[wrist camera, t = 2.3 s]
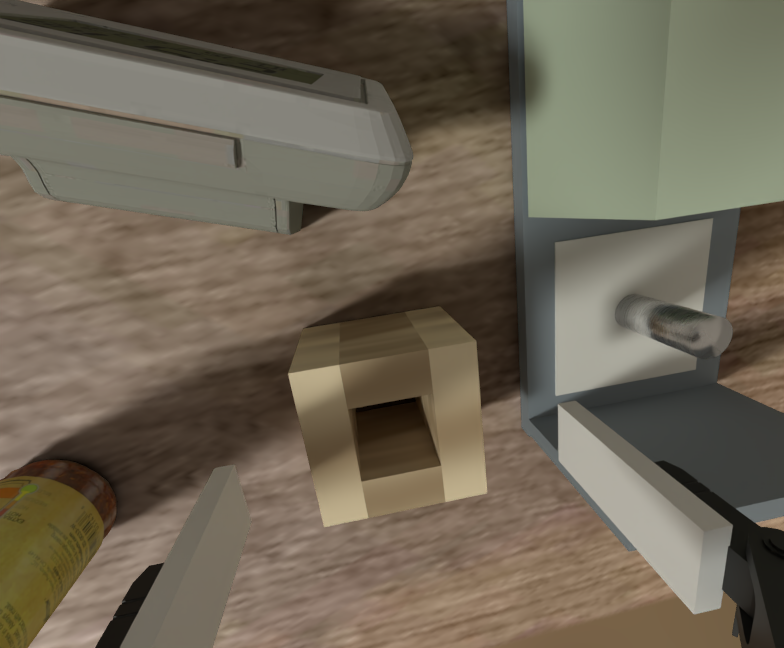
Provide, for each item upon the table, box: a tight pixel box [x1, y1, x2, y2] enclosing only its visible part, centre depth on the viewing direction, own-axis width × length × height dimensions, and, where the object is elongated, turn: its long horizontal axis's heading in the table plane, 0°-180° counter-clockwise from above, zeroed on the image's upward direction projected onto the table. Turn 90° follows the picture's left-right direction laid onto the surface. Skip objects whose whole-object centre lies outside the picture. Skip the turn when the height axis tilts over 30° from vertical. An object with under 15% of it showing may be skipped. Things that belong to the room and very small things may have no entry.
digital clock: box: [0, 0, 413, 235], centre depth 12 cm, size 16×9×11 cm, turn 70°
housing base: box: [507, 0, 784, 551], centre depth 16 cm, size 26×12×9 cm, turn 8°
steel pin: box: [615, 294, 733, 360], centre depth 20 cm, size 2×2×6 cm
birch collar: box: [288, 306, 487, 527], centre depth 19 cm, size 8×8×6 cm
